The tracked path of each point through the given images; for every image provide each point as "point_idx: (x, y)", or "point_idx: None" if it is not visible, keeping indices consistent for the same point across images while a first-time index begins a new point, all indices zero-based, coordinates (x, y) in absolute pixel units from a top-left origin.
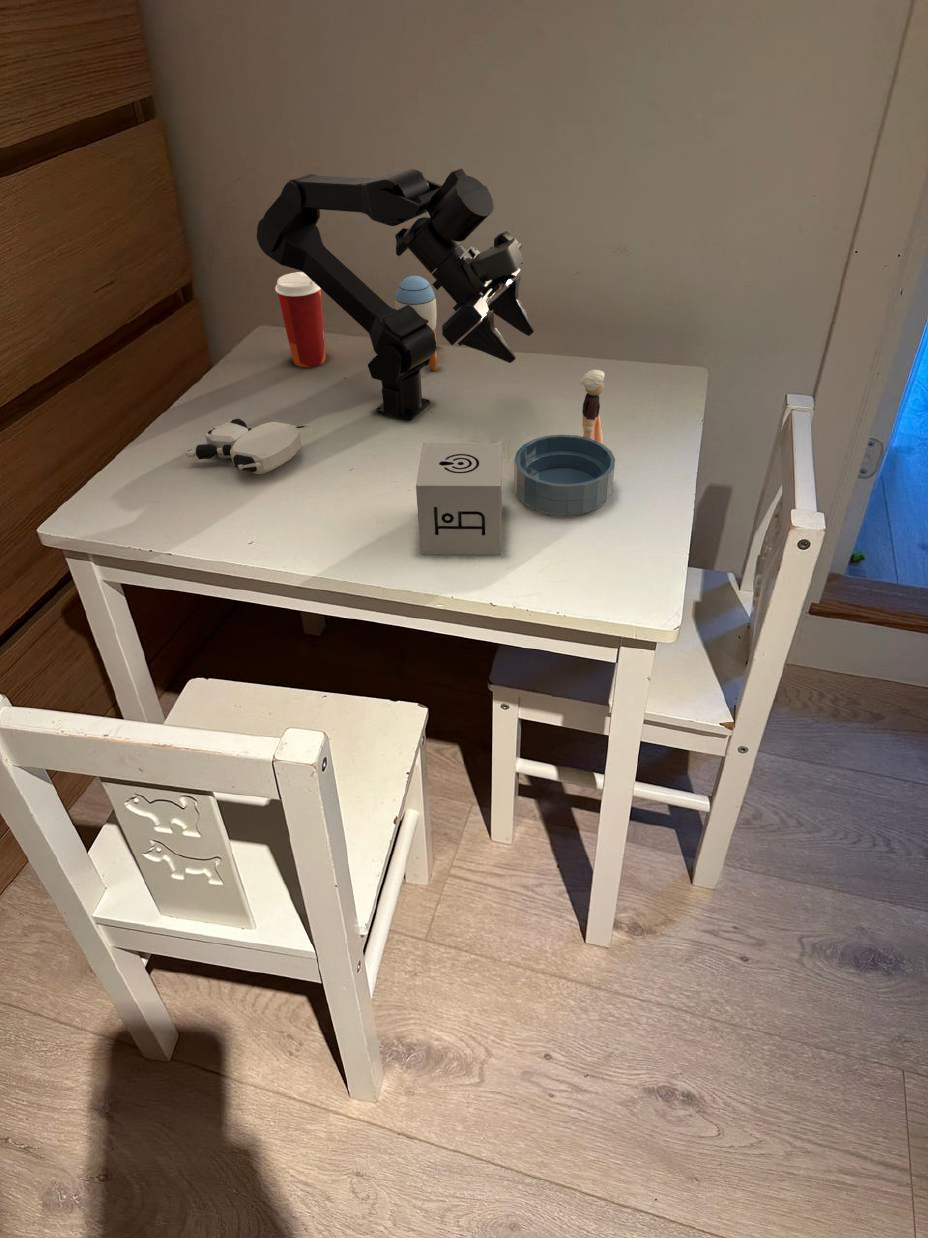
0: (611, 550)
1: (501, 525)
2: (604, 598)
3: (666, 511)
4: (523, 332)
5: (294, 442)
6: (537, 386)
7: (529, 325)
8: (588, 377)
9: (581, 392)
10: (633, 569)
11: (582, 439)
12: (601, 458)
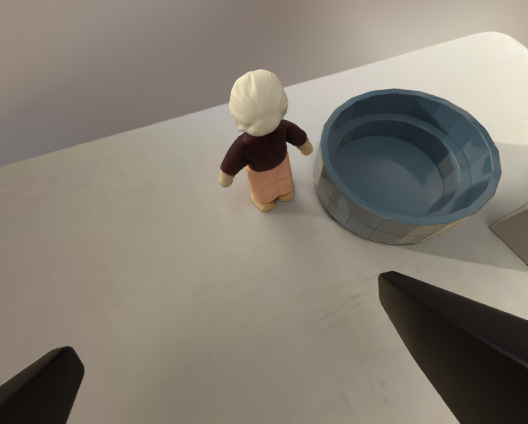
0: (444, 94)
1: (524, 205)
2: (516, 70)
3: (340, 84)
4: (69, 407)
5: None
6: None
7: (36, 376)
8: (280, 91)
9: (81, 293)
10: (454, 70)
11: (328, 153)
12: (331, 134)
